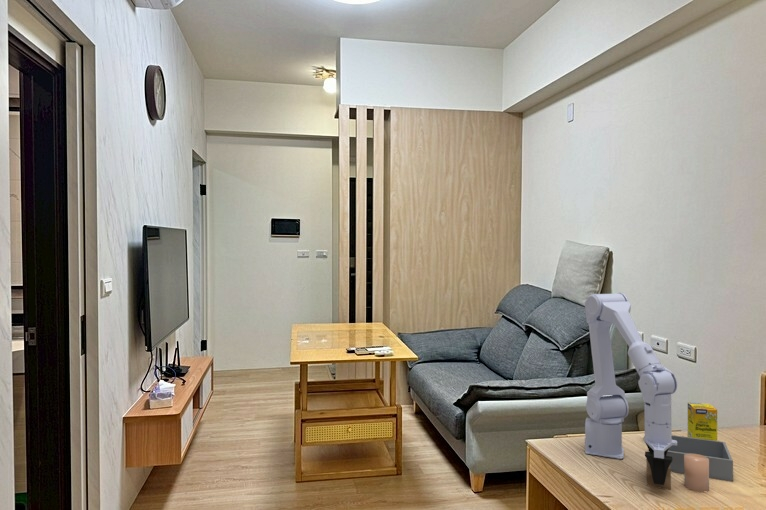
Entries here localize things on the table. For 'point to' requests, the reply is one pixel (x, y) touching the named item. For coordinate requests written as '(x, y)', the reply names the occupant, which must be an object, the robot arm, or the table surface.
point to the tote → (709, 448)
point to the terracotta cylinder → (696, 472)
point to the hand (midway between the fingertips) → (658, 477)
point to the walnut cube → (650, 483)
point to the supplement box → (702, 421)
